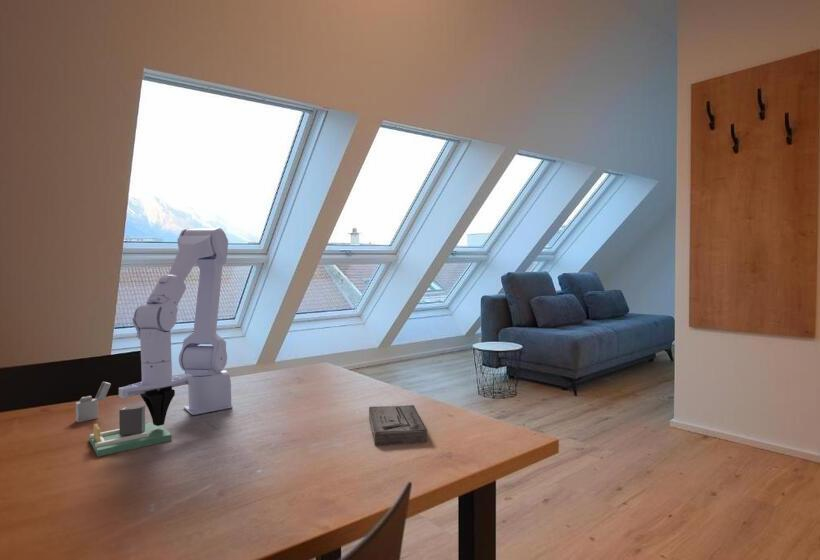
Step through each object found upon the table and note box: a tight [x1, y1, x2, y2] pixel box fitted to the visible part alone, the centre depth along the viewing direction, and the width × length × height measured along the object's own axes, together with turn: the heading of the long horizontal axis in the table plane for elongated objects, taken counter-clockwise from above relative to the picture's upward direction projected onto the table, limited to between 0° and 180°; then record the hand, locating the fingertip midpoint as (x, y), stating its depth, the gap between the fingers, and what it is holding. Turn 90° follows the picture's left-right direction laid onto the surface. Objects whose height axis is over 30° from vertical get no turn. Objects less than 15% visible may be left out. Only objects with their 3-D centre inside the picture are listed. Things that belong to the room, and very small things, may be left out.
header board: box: [88, 421, 173, 457], centre depth 105 cm, size 13×11×4 cm
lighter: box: [75, 381, 112, 423], centre depth 120 cm, size 7×2×8 cm, turn 141°
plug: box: [118, 405, 146, 436], centre depth 106 cm, size 4×4×5 cm
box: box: [368, 404, 428, 447], centre depth 111 cm, size 11×17×3 cm, turn 9°
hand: (158, 424), depth 109 cm, fingers closed
